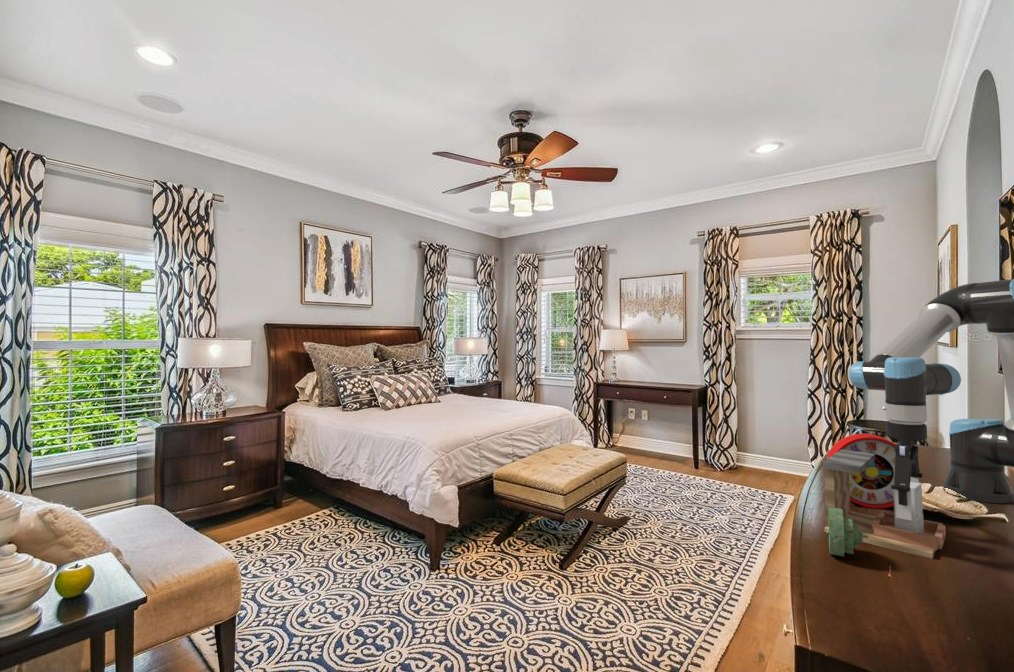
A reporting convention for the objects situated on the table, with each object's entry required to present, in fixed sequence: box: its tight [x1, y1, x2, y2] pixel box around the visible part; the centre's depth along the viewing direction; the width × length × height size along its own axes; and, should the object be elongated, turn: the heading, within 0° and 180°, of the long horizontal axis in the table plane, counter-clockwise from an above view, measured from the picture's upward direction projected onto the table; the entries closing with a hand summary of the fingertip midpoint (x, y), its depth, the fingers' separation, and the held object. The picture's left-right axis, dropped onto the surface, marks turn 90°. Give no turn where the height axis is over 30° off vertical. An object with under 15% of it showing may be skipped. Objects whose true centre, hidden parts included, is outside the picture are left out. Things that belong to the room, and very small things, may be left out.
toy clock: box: [826, 433, 918, 509], centre depth 137 cm, size 20×6×20 cm, turn 68°
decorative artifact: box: [828, 507, 868, 558], centre depth 105 cm, size 10×7×10 cm
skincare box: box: [893, 482, 924, 534], centre depth 113 cm, size 6×4×12 cm
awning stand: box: [822, 450, 947, 560], centre depth 116 cm, size 18×21×18 cm
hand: (908, 510), depth 113 cm, fingers open, 13 cm apart
